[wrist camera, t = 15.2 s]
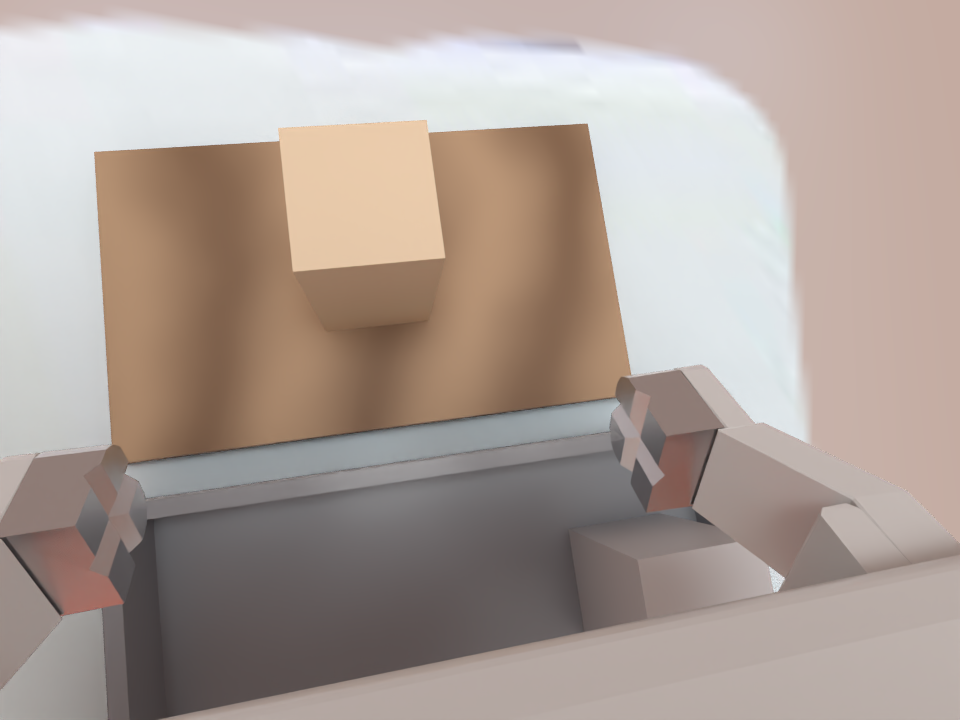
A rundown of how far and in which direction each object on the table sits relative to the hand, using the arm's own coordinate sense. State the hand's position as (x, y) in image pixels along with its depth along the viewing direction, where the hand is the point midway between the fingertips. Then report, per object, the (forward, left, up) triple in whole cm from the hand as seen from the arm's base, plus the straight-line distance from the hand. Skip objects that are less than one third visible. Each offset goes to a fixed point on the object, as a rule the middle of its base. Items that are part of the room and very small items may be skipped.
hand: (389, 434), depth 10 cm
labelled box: (0, +7, -13) cm, 15 cm away
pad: (0, +7, -14) cm, 16 cm away
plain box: (+9, -6, -14) cm, 18 cm away
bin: (+2, -6, -14) cm, 16 cm away
